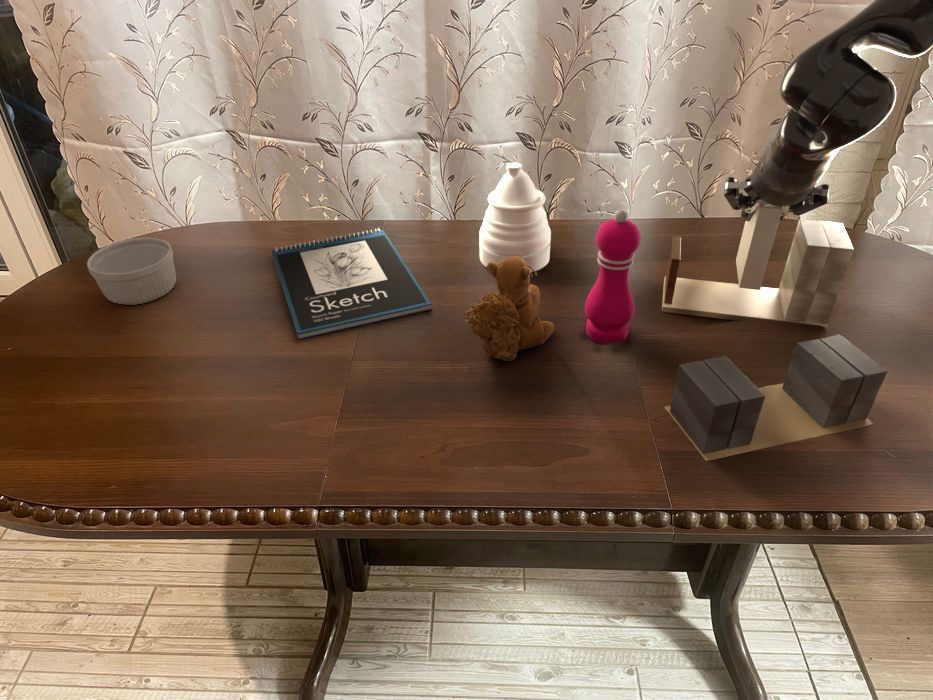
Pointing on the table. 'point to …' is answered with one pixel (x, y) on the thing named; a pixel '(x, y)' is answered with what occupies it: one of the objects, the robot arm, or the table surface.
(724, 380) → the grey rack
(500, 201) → the honey pot
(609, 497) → the table surface
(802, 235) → the white rack
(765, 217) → the white book
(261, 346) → the table surface
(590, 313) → the pepper mill
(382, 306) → the sketchbook
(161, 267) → the ramekin
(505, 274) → the stuffed squirrel
